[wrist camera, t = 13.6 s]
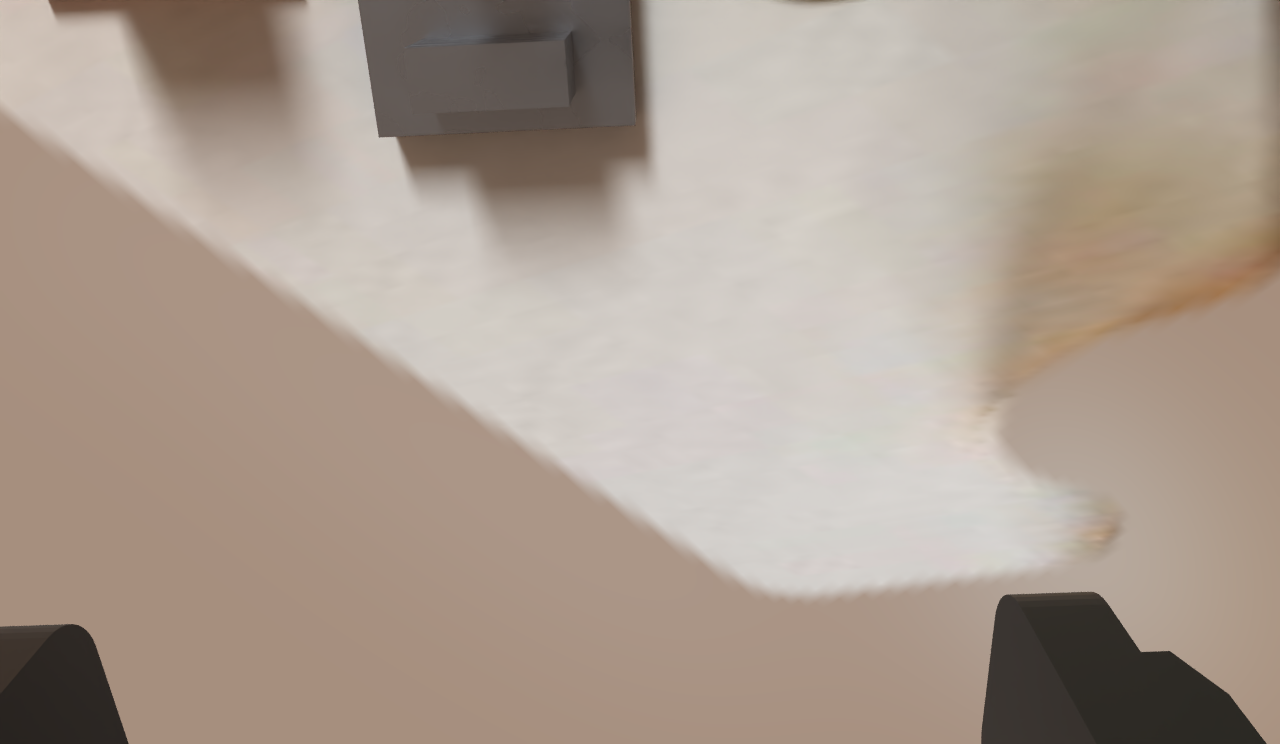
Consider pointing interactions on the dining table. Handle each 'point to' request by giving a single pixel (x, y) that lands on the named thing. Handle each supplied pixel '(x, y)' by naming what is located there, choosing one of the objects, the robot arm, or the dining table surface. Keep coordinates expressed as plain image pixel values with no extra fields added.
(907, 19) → the dining table surface
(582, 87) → the grey clamp base
